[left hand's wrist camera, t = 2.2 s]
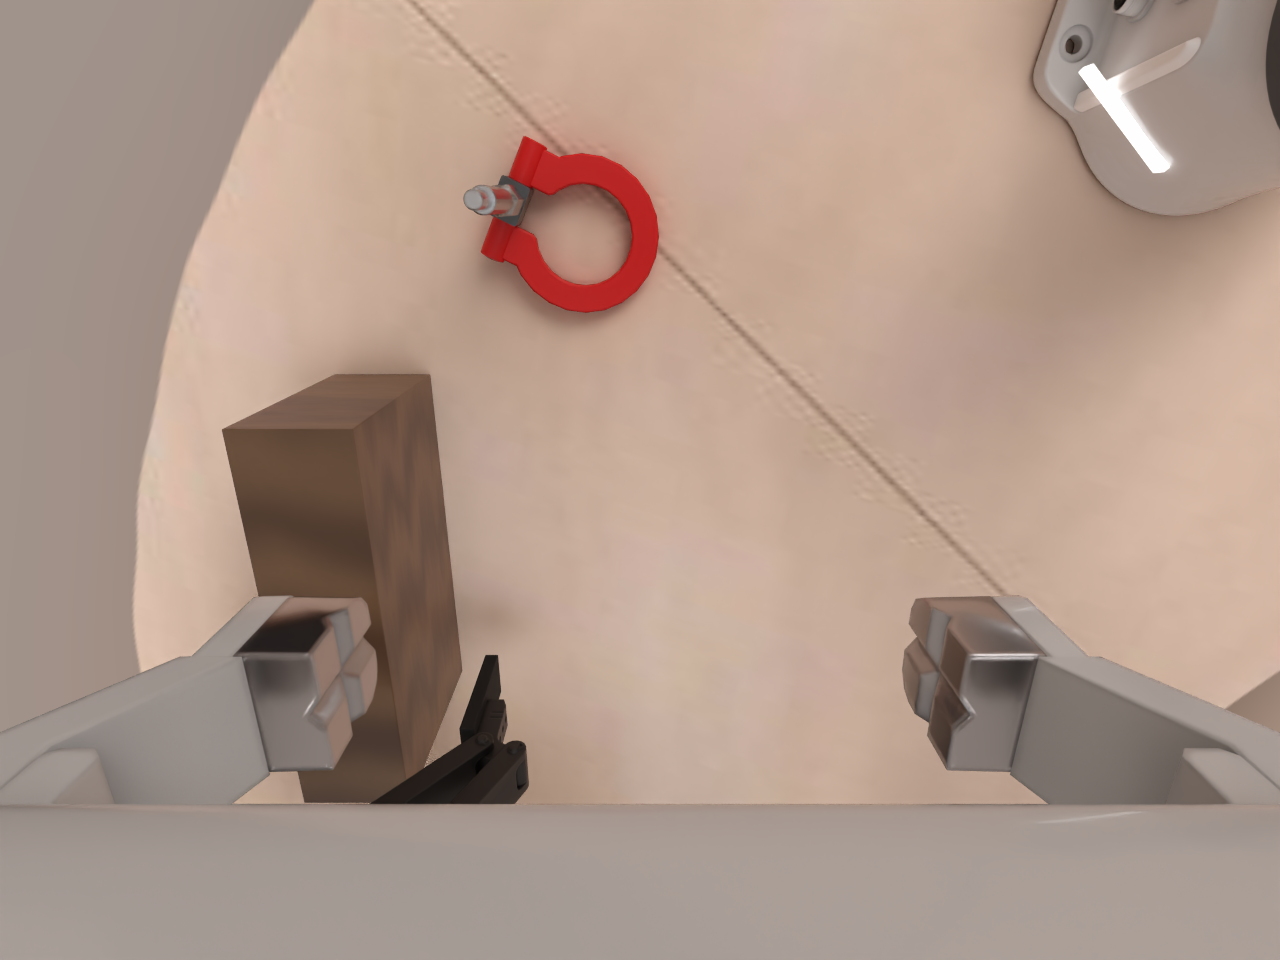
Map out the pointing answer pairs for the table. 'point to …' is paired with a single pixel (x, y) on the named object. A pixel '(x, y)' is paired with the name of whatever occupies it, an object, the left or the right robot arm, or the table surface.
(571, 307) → the tow hook
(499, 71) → the table surface
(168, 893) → the left robot arm
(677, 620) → the table surface
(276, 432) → the box
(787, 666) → the table surface
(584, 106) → the table surface
